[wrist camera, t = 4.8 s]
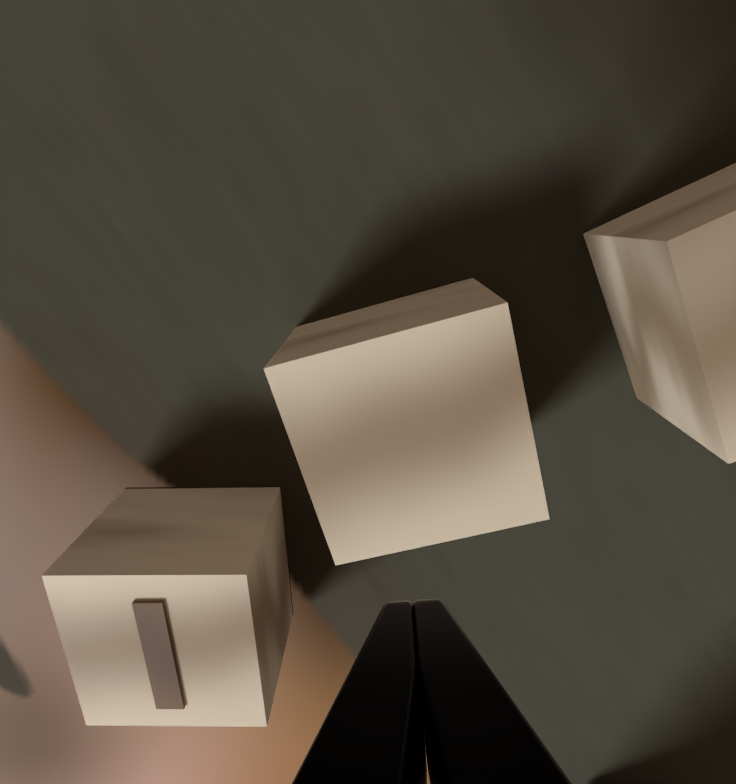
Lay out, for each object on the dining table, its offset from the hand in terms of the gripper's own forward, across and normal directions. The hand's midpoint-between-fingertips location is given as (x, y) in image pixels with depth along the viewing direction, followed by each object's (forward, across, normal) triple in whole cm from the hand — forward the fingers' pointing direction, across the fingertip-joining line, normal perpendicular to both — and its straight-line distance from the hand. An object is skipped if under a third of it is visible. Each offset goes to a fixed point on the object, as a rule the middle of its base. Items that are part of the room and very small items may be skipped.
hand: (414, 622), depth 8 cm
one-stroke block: (+11, +8, +6) cm, 15 cm away
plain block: (+11, 0, 0) cm, 11 cm away
